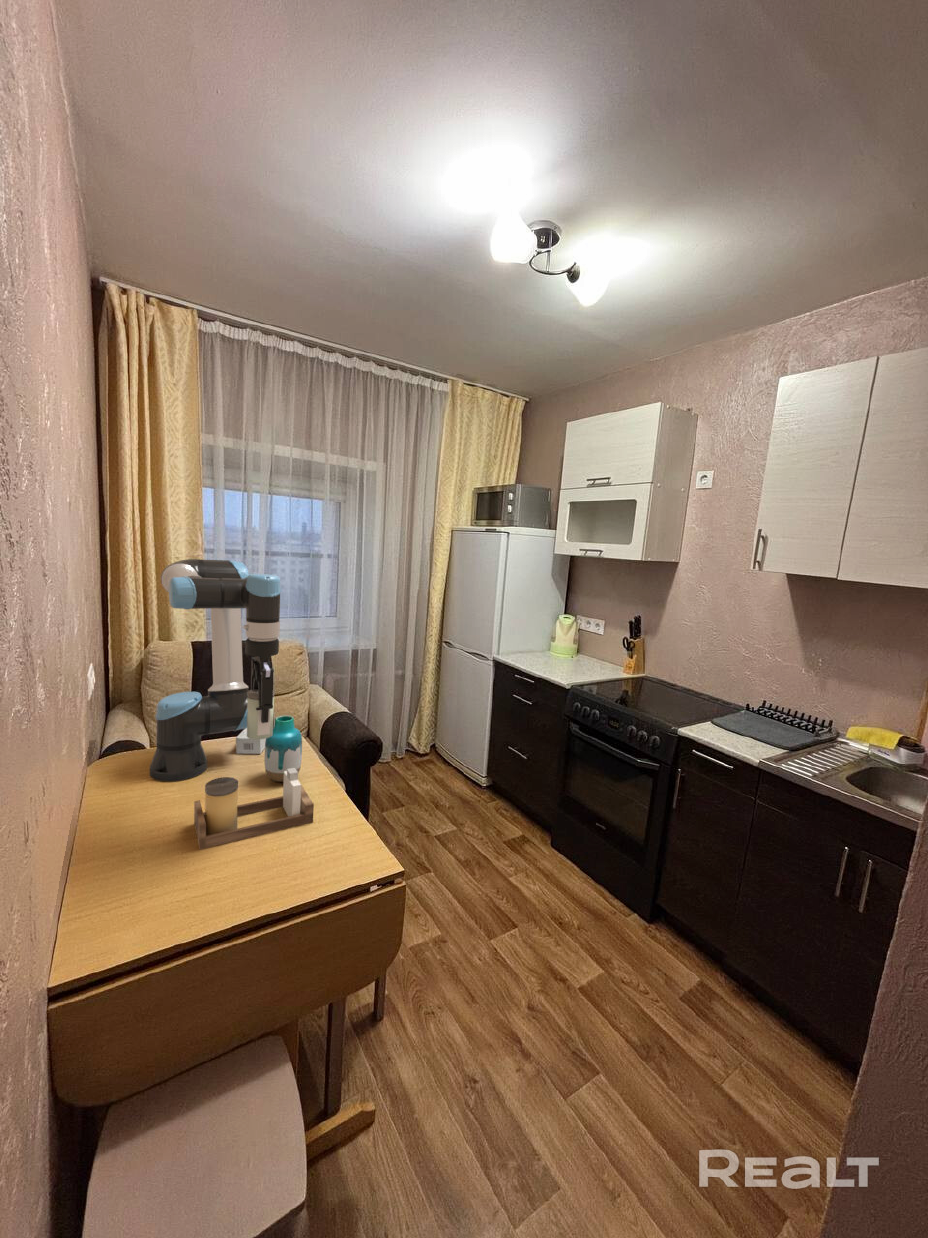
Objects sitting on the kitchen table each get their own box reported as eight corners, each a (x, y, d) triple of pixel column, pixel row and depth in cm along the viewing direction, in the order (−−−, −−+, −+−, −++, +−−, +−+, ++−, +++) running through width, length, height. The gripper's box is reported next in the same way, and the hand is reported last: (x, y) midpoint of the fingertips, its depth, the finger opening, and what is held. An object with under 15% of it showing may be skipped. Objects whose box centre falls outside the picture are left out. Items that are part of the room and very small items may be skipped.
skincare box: (235, 737, 161) (249, 721, 176) (235, 755, 162) (249, 737, 177) (262, 737, 163) (273, 721, 177) (262, 755, 164) (273, 737, 178)
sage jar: (244, 732, 123) (245, 689, 121) (270, 728, 126) (271, 687, 125) (249, 741, 118) (249, 696, 116) (275, 737, 121) (277, 694, 120)
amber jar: (203, 827, 121) (203, 780, 120) (234, 820, 125) (235, 775, 124) (206, 842, 115) (207, 794, 114) (239, 834, 119) (240, 787, 118)
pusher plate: (282, 806, 133) (284, 764, 131) (290, 804, 134) (291, 763, 132) (291, 823, 125) (293, 779, 124) (299, 821, 126) (301, 777, 125)
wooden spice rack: (194, 823, 122) (194, 801, 121) (300, 800, 137) (300, 780, 136) (199, 849, 112) (199, 825, 112) (313, 822, 127) (313, 800, 126)
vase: (306, 773, 153) (309, 714, 151) (291, 789, 143) (293, 726, 140) (274, 769, 154) (276, 710, 152) (257, 784, 144) (258, 722, 141)
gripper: (238, 631, 124) (237, 719, 127) (253, 646, 109) (251, 746, 112) (269, 630, 128) (267, 715, 132) (288, 645, 113) (285, 741, 116)
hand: (260, 729), depth 122 cm, fingers closed on sage jar, 6 cm apart
